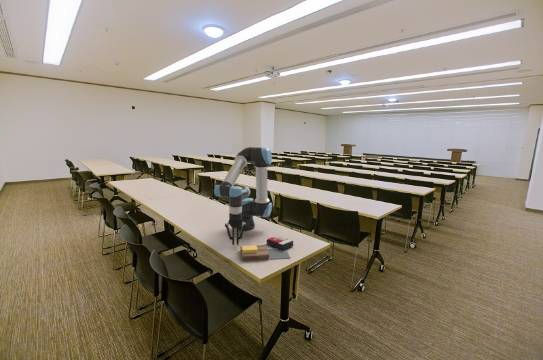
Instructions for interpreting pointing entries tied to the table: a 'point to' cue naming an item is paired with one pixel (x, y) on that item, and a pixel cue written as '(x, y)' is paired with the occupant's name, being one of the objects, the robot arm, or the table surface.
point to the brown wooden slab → (256, 254)
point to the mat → (278, 254)
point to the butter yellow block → (249, 249)
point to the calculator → (280, 242)
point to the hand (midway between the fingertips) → (235, 249)
